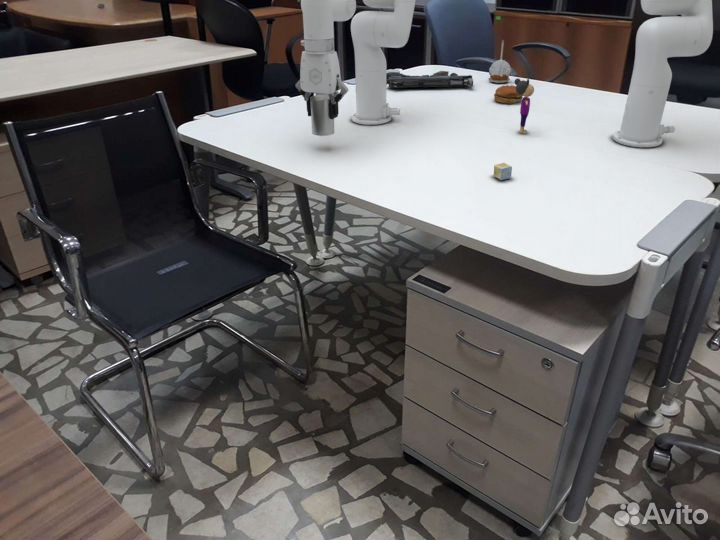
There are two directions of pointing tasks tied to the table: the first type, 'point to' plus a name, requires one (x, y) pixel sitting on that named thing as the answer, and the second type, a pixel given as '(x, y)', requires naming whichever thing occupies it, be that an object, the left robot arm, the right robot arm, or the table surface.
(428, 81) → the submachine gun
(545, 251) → the table surface
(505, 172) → the alphabet block
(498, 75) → the candy apple
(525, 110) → the toy
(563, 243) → the table surface
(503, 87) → the burger
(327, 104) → the can
